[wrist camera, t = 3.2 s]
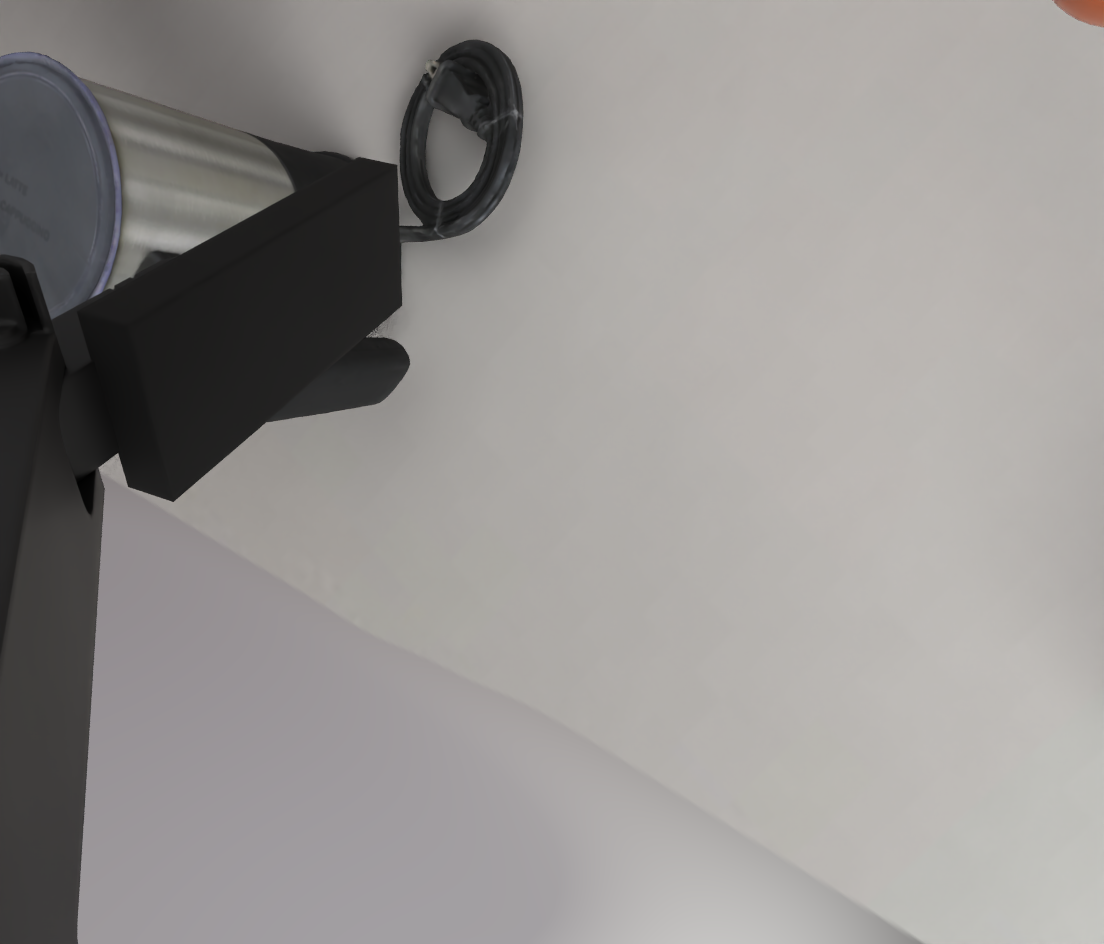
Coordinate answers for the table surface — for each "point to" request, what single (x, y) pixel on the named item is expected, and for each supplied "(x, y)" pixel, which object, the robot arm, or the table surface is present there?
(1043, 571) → the table surface
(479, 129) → the milk frother
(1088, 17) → the switch lever
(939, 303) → the table surface
